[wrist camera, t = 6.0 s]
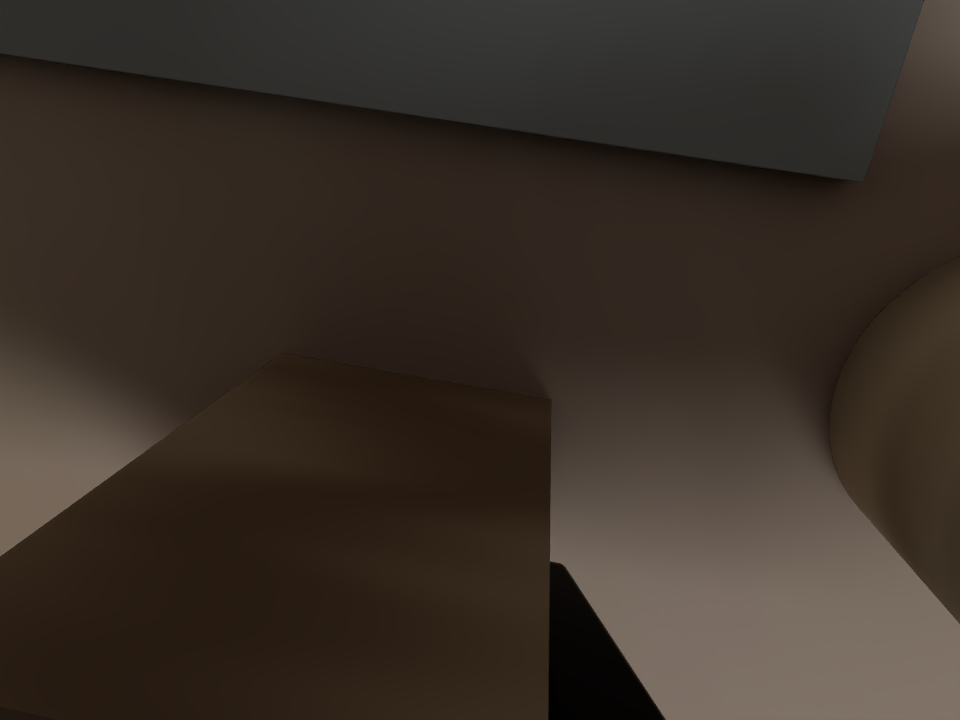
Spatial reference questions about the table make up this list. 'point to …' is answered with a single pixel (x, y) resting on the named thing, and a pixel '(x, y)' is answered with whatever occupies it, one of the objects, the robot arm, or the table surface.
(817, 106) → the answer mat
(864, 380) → the beige round knob
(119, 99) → the table surface
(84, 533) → the walnut block
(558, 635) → the robot arm
